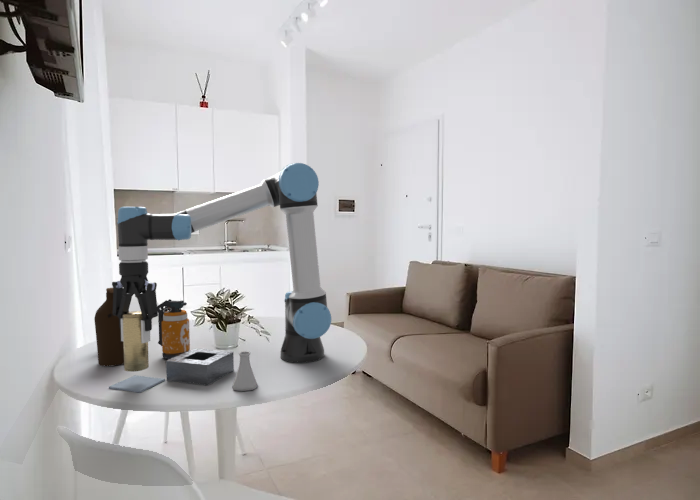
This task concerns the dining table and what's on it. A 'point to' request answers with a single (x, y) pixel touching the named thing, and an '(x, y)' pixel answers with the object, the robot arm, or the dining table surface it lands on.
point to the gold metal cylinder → (134, 343)
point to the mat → (137, 383)
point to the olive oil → (108, 334)
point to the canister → (173, 328)
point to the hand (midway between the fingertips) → (135, 340)
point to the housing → (200, 366)
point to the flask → (244, 374)
